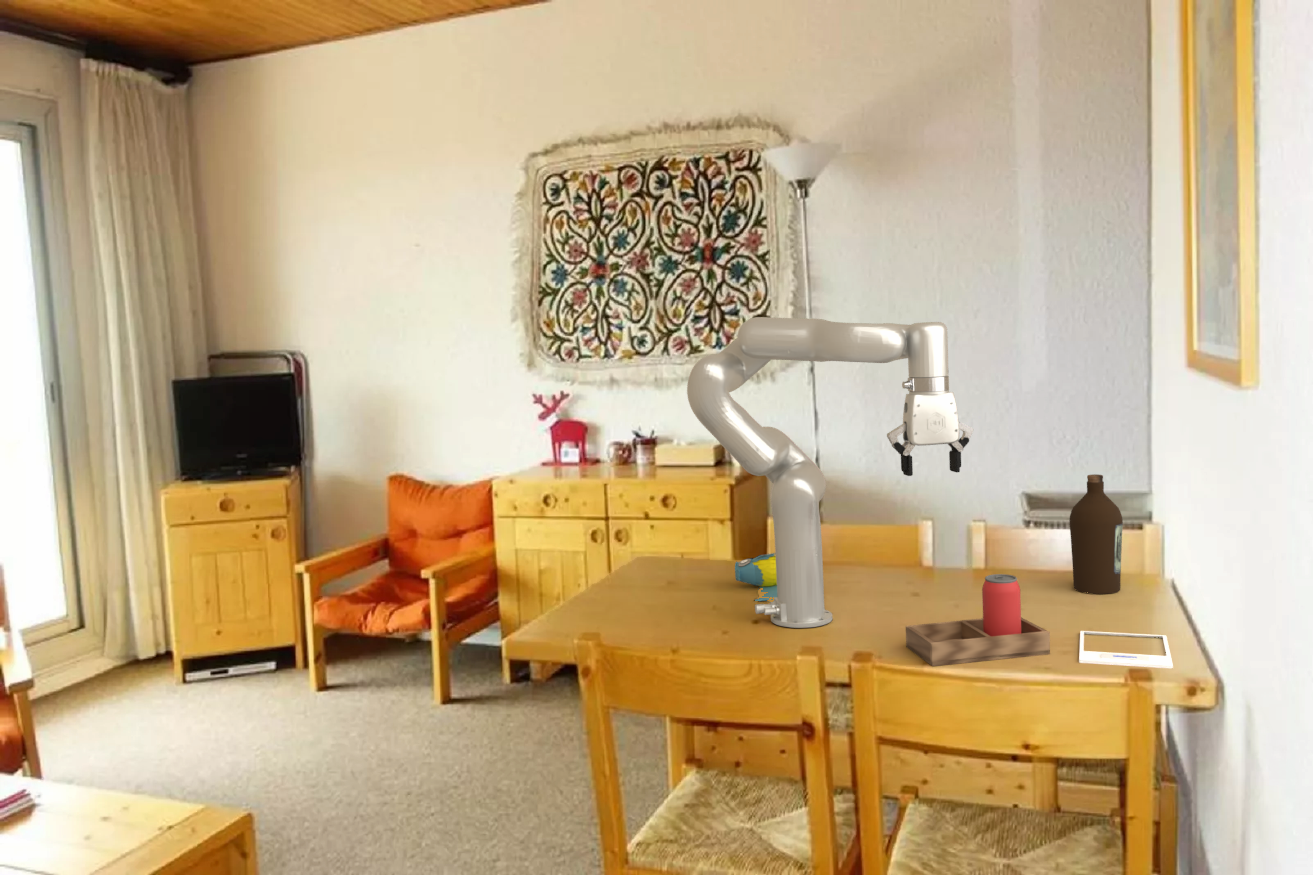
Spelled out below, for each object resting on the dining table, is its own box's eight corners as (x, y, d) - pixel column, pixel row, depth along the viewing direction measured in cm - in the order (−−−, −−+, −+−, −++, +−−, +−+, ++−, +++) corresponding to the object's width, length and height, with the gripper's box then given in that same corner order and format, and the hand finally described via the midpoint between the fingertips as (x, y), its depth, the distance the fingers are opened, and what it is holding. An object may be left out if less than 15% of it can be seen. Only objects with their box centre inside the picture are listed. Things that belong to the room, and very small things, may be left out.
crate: (932, 666, 186) (931, 644, 186) (906, 647, 198) (905, 626, 198) (1049, 654, 189) (1049, 632, 189) (1017, 635, 201) (1016, 615, 201)
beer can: (1013, 635, 198) (1012, 572, 197) (1027, 646, 191) (1025, 580, 190) (978, 638, 198) (976, 574, 197) (990, 648, 191) (989, 582, 190)
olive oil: (1069, 594, 229) (1067, 478, 226) (1071, 582, 239) (1069, 471, 236) (1123, 596, 225) (1122, 479, 222) (1123, 584, 234) (1122, 471, 232)
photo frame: (1079, 658, 184) (1080, 629, 201) (1079, 664, 184) (1080, 635, 201) (1173, 664, 178) (1166, 634, 195) (1173, 671, 179) (1166, 640, 195)
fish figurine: (791, 566, 234) (723, 567, 237) (794, 604, 235) (726, 605, 238) (805, 540, 261) (744, 542, 264) (807, 575, 262) (746, 576, 265)
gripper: (893, 389, 202) (896, 479, 204) (979, 384, 204) (981, 472, 206) (879, 388, 209) (882, 474, 211) (962, 382, 212) (964, 468, 213)
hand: (931, 473), depth 209 cm, fingers open, 9 cm apart
